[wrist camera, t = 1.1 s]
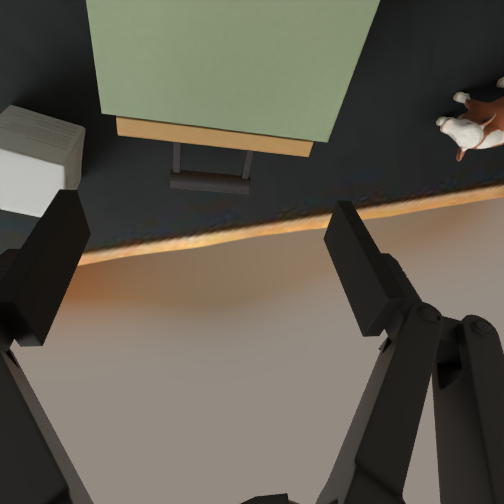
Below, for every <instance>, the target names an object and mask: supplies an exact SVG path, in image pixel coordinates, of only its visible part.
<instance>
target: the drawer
mask: <svg viewBox="0 0 504 504" xmlns="http://www.w3.org/2000/svg"><path fill="white" fill-rule="evenodd" d="M116 121H117V130H118V135H121V136H130V137H139V138H148V139H156V140H165V141H174V145H173V169H172V170H171V175H170V188H175V189H188V190H200V191H213V192H226V193H238V194H248V193H249V191H250V184H251V182H250V177H249V174H250V170H251V165H252V160H253V155H254V151H261V152H270V153H279V154H288V155H297V156H305V157H308V156H309V154H310V151H311V148H312V145H313V141H312V140H305V139H298V138H290V137H282V136H274V135H266V134H259V133H251V132H243V131H235V130H227V129H219V128H212V127H204V126H196V125H188V124H180V123H173V122H165V121H157V120H149V119H141V118H134V117H126V116H118V115H117V117H116ZM181 142H183V143H191V144H200V145H209V146H218V147H226V148H235V149H244V150H246V154H245V159H244V165H243V170H242V176H237V175H226V174H215V173H205V172H194V171H183V170H180V166H181Z"/></svg>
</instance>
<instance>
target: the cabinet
mask: <svg viewBox="0 0 504 504" xmlns="http://www.w3.org/2000/svg"><path fill="white" fill-rule="evenodd" d="M379 2H380V0H86V3H87V10H88V18H89V25H90V32H91V39H92V47H93V54H94V61H95V68H96V76H97V83H98V90H99V97H100V104H101V112H102V114H110V115H118V116H126V117H134V118H141V119H149V120H157V121H165V122H173V123H180V124H188V125H196V126H204V127H212V128H219V129H227V130H235V131H243V132H251V133H259V134H266V135H274V136H282V137H290V138H298V139H305V140H313V141H321V142H328V139H329V137H330V134H331V131H332V129H333V126H334V123H335V121H336V118H337V115H338V112H339V110H340V107H341V104H342V102H343V99H344V96H345V94H346V91H347V88H348V86H349V83H350V80H351V77H352V75H353V72H354V69H355V67H356V64H357V61H358V59H359V56H360V53H361V50H362V48H363V45H364V42H365V40H366V37H367V34H368V32H369V29H370V26H371V24H372V21H373V18H374V15H375V13H376V10H377V7H378V5H379Z"/></svg>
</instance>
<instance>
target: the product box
mask: <svg viewBox="0 0 504 504" xmlns="http://www.w3.org/2000/svg"><path fill="white" fill-rule="evenodd" d="M85 132H86V129H85V128H84V127H83V126H79V125H76V124H73V123H70V122H66V121H63V120H60V119H56V118H53V117H50V116H46V115H43V114H40V113H37V112H33V111H30V110H27V109H24V108H21V107H17V106H14V105H10V106H9V107H8V108H6V109H5V110H4V111H3V112H2V113H1V114H0V209H2V210H7V211H12V212H17V213H22V214H27V215H32V216H37V217H42V215H43V214H44V212H45V211H46V209H47V207H48V206H49V204H50V203H51V201H52V200H53V198H54V197H55V195H56V194H57V192H58V191H59V189H67V190H76V189H77V187H78V185H79V183H80V180H81V166H82V154H83V145H84V138H85Z"/></svg>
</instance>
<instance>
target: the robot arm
mask: <svg viewBox="0 0 504 504" xmlns="http://www.w3.org/2000/svg"><path fill="white" fill-rule="evenodd" d="M90 235H91V233H90V230H89V227H88V224H87V221H86V218H85V214H84V211H83V208H82V205H81V202H80V199H79V196H78V192H77V190H67V189H59V191H58V192H57V194H56V195H55V197H54V198H53V200H52V201H51V203H50V204H49V206H48V207H47V209H46V211H45V212H44V214H43V215H42V217H41V218H40V220H39V221H38V223H37V224H36V226H35V228H34V229H33V231H32V232H31V234H30V235H29V237H28V238H27V240H26V241H25V243H24V244H23V246H22V248H21V249H8V250H6V251H5V252H4V253H2V254H1V255H0V504H94V503H93V502H92V500H91V498H90V496H89V494H88V492H87V490H86V489H85V487H84V485H83V483H82V481H81V479H80V477H79V476H78V474H77V472H76V470H75V468H74V466H73V464H72V463H71V461H70V459H69V457H68V455H67V453H66V451H65V449H64V447H63V445H62V444H61V442H60V440H59V438H58V436H57V434H56V432H55V430H54V429H53V427H52V425H51V423H50V421H49V419H48V417H47V416H46V414H45V412H44V410H43V408H42V406H41V404H40V402H39V401H38V399H37V397H36V395H35V393H34V391H33V389H32V387H31V386H30V384H29V382H28V380H27V378H26V376H25V375H24V372H23V371H22V369H21V367H20V365H19V363H18V361H17V359H16V358H15V356H14V354H13V352H12V351H11V349H10V346H11V344H12V342H13V340H14V339H15V340H16V341H17V342H18V344H19V345H20V346H22V347H23V346H42V345H43V344H44V342H45V339H46V337H47V334H48V332H49V330H50V327H51V325H52V323H53V320H54V318H55V316H56V314H57V311H58V309H59V307H60V304H61V302H62V300H63V297H64V295H65V293H66V290H67V288H68V286H69V283H70V281H71V279H72V277H73V274H74V272H75V270H76V267H77V265H78V263H79V260H80V258H81V256H82V253H83V251H84V249H85V246H86V244H87V242H88V239H89V237H90ZM324 241H325V244H326V246H327V249H328V251H329V254H330V256H331V259H332V261H333V264H334V266H335V269H336V271H337V273H338V276H339V278H340V281H341V283H342V286H343V288H344V291H345V293H346V296H347V298H348V301H349V303H350V306H351V308H352V311H353V313H354V315H355V318H356V320H357V323H358V325H359V328H360V330H361V333H362V335H363V336H364V337H367V336H379V335H380V334H381V333H382V331H383V330H384V329H385V330H386V333H387V334H388V337H387V338H386V340H385V341H384V342H383V344H382V345H381V346H380V347H379V350H381V351H380V354H379V356H378V359H377V361H376V364H375V366H374V369H373V371H372V374H371V376H370V378H369V381H368V383H367V386H366V389H365V391H364V393H363V396H362V398H361V401H360V403H359V405H358V408H357V410H356V413H355V415H354V418H353V420H352V423H351V425H350V428H349V430H348V433H347V435H346V438H345V440H344V442H343V445H342V447H341V450H340V452H339V455H338V457H337V460H336V462H335V465H334V467H333V470H332V472H331V474H330V477H329V479H328V481H327V483H326V485H325V487H324V488H323V490H322V491H321V493H320V495H319V497H318V499H317V502H316V504H406V503H405V502H404V500H403V498H402V493H403V488H404V483H405V480H406V475H407V471H408V467H409V462H410V459H411V455H412V451H413V447H414V443H415V438H416V434H417V430H418V426H419V422H420V418H421V414H422V410H423V406H424V402H425V397H426V393H427V389H428V385H429V381H430V377H431V373H432V386H433V398H434V399H433V400H434V415H435V430H436V444H437V458H438V473H439V488H440V502H441V504H504V353H503V350H502V346H501V342H500V339H499V335H498V333H497V331H496V329H495V328H494V327H493V325H492V324H491V323H489V322H488V321H487V320H485V319H483V318H481V317H479V316H476V315H467V316H465V318H463V319H462V320H461V321H459V320H455V319H452V318H448V317H444V316H442V315H441V313H440V312H439V311H438V310H437V309H436V308H435V307H433V306H432V305H430V304H428V303H425V302H422V300H421V299H420V297H419V296H418V294H417V292H416V291H415V289H414V287H413V286H412V284H411V283H410V281H409V279H408V278H407V277H406V274H405V273H404V271H402V268H401V266H400V265H399V263H398V261H397V260H396V259H394V258H393V257H392V256H391V255H390V254H389V253H387V254H385V253H380V251H379V249H378V247H377V246H376V244H375V242H374V241H373V239H372V237H371V235H370V234H369V232H368V230H367V229H366V227H365V225H364V223H363V222H362V220H361V218H360V216H359V215H358V213H357V211H356V210H355V208H354V206H353V204H352V203H351V201H338V200H337V203H336V205H335V208H334V211H333V214H332V217H331V219H330V222H329V225H328V228H327V231H326V234H325V236H324ZM241 504H298V503H296V502H293V501H290V500H288V494H287V493H286V494H276V495H267V496H257V497H254V498H252V499H249V500H247V501H245V502H243V503H241Z"/></svg>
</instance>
